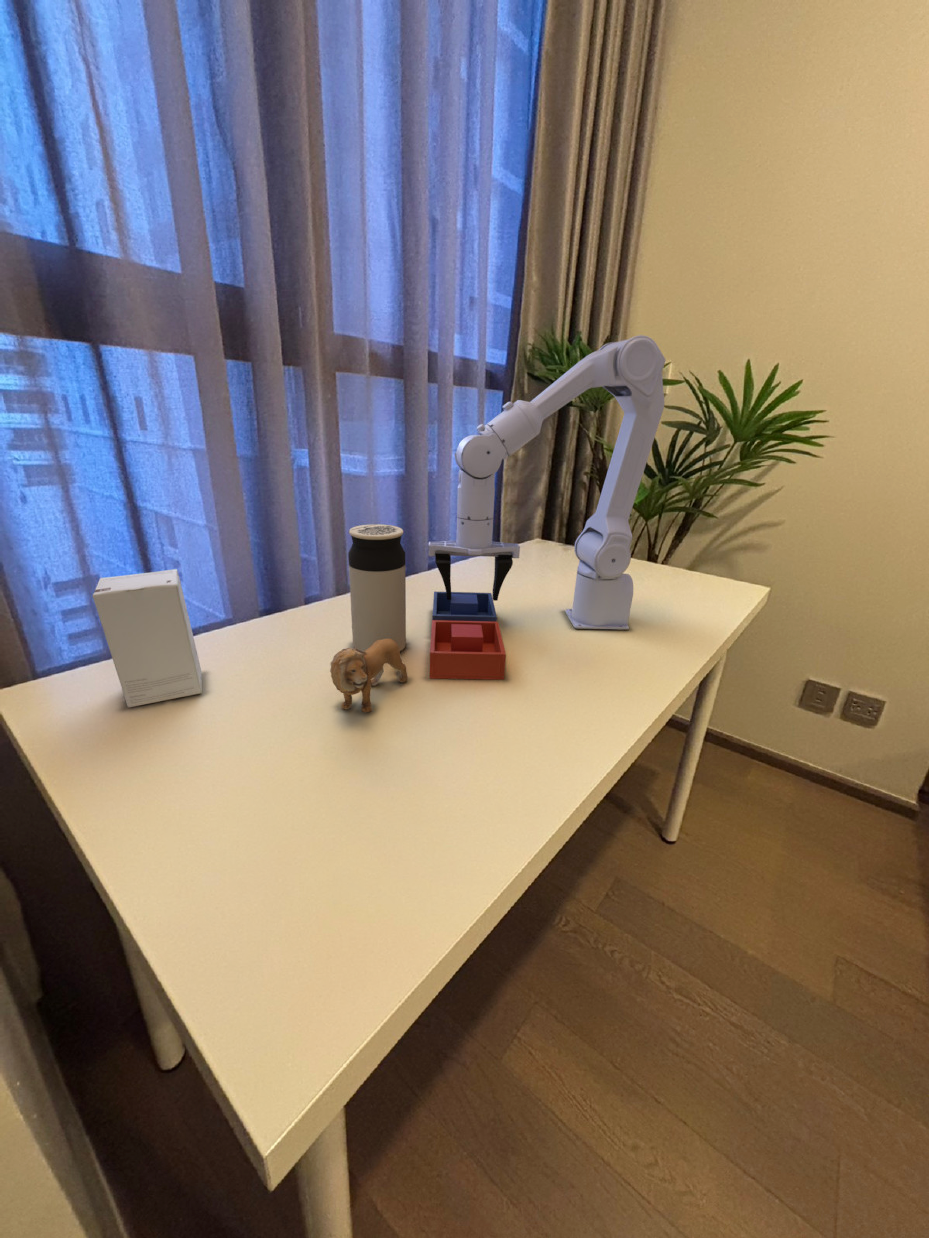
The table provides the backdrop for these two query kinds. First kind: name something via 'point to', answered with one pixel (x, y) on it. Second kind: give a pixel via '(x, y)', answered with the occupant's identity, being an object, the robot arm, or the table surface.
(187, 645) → the cosmetic box
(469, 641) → the red block
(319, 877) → the table surface
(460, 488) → the robot arm
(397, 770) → the table surface
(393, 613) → the travel mug
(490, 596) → the blue bin
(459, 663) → the red bin
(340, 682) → the lion figurine
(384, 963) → the table surface
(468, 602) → the blue block
